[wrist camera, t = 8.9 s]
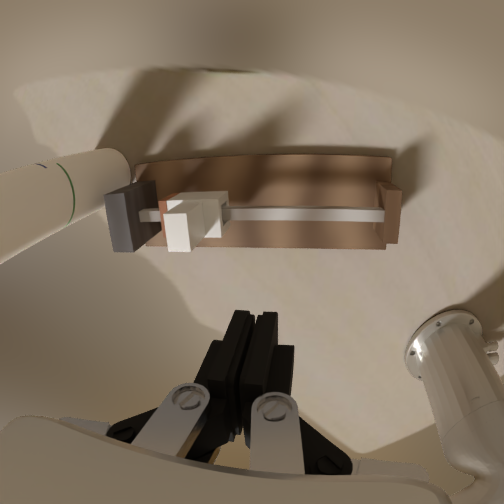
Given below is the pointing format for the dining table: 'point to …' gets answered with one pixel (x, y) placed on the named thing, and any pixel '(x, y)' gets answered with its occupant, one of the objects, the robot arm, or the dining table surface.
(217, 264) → the dining table surface
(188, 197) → the sleeve
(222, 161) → the rail
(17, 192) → the cylindrical container
